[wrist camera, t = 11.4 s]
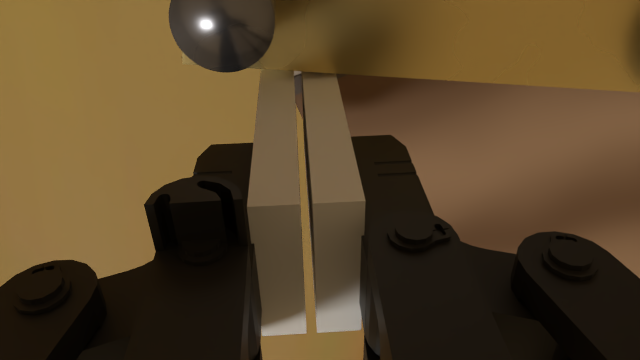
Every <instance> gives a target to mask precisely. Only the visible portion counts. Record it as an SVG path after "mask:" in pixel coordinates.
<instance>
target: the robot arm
mask: <svg viewBox="0 0 640 360" xmlns="http://www.w3.org/2000/svg"><path fill="white" fill-rule="evenodd" d="M301 79H302V103H303V128H304V150H305V165H306V179H307V193H308V208H309V222H310V237H311V251H312V266H313V280H314V295H315V309H316V324H317V333H320V332H336V331H353V330H361V315H362V321H363V327H364V333H365V334H364V358H363V360H640V278H639V277H638V276H637V275H635V274H634V273H633V272H632V271H631V270H629V269H628V268H627V267H626V266H625V265H624V264H622V263H621V262H620V261H619V260H618V259H617V258H615V257H614V256H613V255H612V254H611V253H609V252H608V251H607V250H605V249H604V248H602V247H600V246H599V245H597V244H596V243H594V242H593V241H590V240H588V239H585V238H582V237H580V236H577V235H574V234H569V233H563V232H556V231H551V232H538V233H536V234H533V235H531V236H528V237H526V238H525V239H524V240H523V241H522V243H521V244H520V245H519V246H518V249H517V253H516V254H513V253H507V252H501V251H495V250H489V249H484V248H480V247H476V246H472V245H469V244H467V243H464V242H462V241H460V238H459V236H458V234H457V233H456V232H455V230H454V229H453V228H452V226H451V225H450V224H449V223H447V222H446V221H444V220H442V219H441V218H439V217H438V216H435V215H434V213H433V211H432V208H431V206H430V203H429V201H428V199H427V196H426V194H425V191H424V189H423V186H422V184H421V182H420V179H419V177H418V175H417V174H416V173H417V172H416V170H415V167H414V165H413V163H412V160H411V157H410V155H409V153H408V150H407V148H406V146H405V145H404V144H402V143H401V142H400V141H398V140H397V139H396V138H395V137H393V136H392V135H375V136H352V137H350V132H349V128H348V124H347V119H346V115H345V111H344V107H343V102H342V98H341V94H340V89H339V85H338V81H337V77H336V74H335V73H319V72H303V71H301ZM193 173H194V176H192V177H190V178H184V179H180V180H177V181H174V182H172V183H169V184H166V185H164V186H163V187H161V188H160V189H158V190H157V191H155V192H154V193H152V194H151V196H150V197H149V199H148V200H147V201H146V203H145V204H144V207H145V211H146V214H147V218H148V222H149V226H150V230H151V234H152V238H153V242H154V246H155V250H156V253H155V256H154V260H152V261H150V262H149V263H147V264H145V265H143V266H140V267H137V268H135V269H132V270H129V271H126V272H122V273H118V274H115V275H111V276H108V277H104V278H100V279H97V276H96V273H95V272H94V271H93V270H92V269H91V268H90V267H89V266H88V265H87V264H85V263H81V262H78V261H74V260H56V261H51V262H47V263H43V264H39V265H36V266H33V267H31V268H29V269H27V270H25V271H23V272H21V273H19V274H17V275H15V276H14V277H12V278H11V279H10V280H9V281H7V282H6V283H5V284H4V285H2V286H1V287H0V360H262V353H261V345H260V339H261V329H262V336H272V335H288V334H305V333H306V312H305V292H304V271H303V250H302V229H301V208H300V187H299V166H298V145H297V125H296V104H295V84H294V71H287V70H271V69H261V75H260V84H259V94H258V104H257V114H256V123H255V133H254V143H238V144H216V145H210V146H209V147H208V148H207V149H206V150H205V151H204V152H203V153H202V154H201V155H200V156H199V157H198V158H197V162H196V165H195V169H194V172H193Z"/></svg>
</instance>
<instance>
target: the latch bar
mask: <svg viewBox="0 0 640 360" xmlns="http://www.w3.org/2000/svg"><path fill="white" fill-rule="evenodd" d="M169 23H170V28H171V32H172V34H173V37H174V39H175V41H176V43H177V45H178V46H179V48H180V49H181V50H182V61H183V64H191V65H200V66H202V67H204V68H206V69H209V70H213V71H217V72H236V71H240V70H243V69H246V68H255V69H271V70H287V71H303V72H319V73H335V74H351V75H367V76H383V77H399V78H415V79H431V80H447V81H463V82H479V83H495V84H512V85H528V86H544V87H560V88H576V89H592V90H608V91H624V92H640V0H171V3H170V8H169Z"/></svg>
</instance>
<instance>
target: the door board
mask: <svg viewBox="0 0 640 360" xmlns="http://www.w3.org/2000/svg"><path fill="white" fill-rule="evenodd" d="M336 77H337V81H338V85H339V89H340V94H341V98H342V102H343V107H344V111H345V115H346V119H347V124H348V128H349V132H350V137H352V136H375V135H392V136H393V137H395V138H396V139H397V140H398V141H400V142H401V143H402V144H404V145H405V146H406V148H407V150H408V153H409V155H410V157H411V160H412V163H413V165H414V167H415V170H416V172H417V173H416V174H417V175H418V177H419V179H420V182H421V184H422V186H423V189H424V191H425V194H426V196H427V199H428V201H429V203H430V206H431V208H432V211H433V213H434V215H435V216H438V217H439V218H441V219H442V220H444V221H446V222H447V223H449V224H450V225H451V226H452V228H453V229H454V230H455V232H456V233H457V234H458V236H459V238H460V241H462V242H464V243H467V244H469V245H472V246H476V247H480V248H484V249H489V250H495V251H501V252H507V253H513V254H516V253H517V249H518V246H519V245H520V244H521V243H522V241H523V240H524V239H525V238H526V237H528V236H531V235H533V234H536V233H538V232H551V231H556V232H563V233H569V234H574V235H577V236H580V237H582V238H585V239H588V240H590V241H593V242H594V243H596V244H597V245H599V246H600V247H602V248H604V249H605V250H607V251H608V252H609V253H611V254H612V255H613V256H614V257H615V258H617V259H618V260H619V261H620V262H621V263H622V264H624V265H625V266H626V267H627V268H628V269H629V270H631V271H632V272H633V273H634V274H635V275H637V276H638V277H639V278H640V92H624V91H608V90H592V89H576V88H560V87H544V86H528V85H512V84H495V83H479V82H463V81H447V80H431V79H415V78H399V77H383V76H367V75H351V74H336ZM294 84H295V103H296V105H297V107H298V109H299V112H300V114H301V116H302V118H303V103H302V79H301V71H294Z"/></svg>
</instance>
